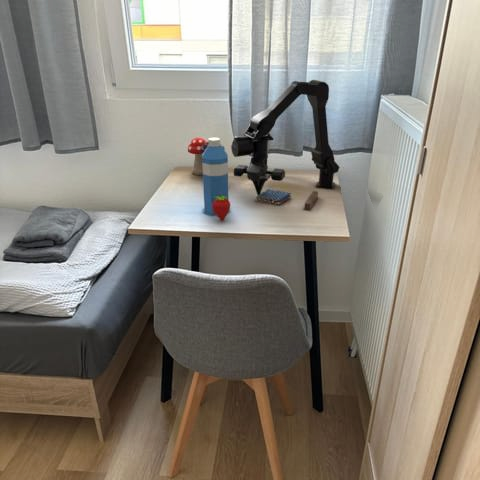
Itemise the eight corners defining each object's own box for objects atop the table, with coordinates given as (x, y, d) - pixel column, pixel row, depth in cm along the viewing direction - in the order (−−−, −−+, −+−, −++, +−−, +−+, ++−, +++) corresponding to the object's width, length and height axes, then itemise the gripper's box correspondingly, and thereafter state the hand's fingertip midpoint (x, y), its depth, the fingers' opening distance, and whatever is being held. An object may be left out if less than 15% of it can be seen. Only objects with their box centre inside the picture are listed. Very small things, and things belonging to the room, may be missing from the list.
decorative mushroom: (214, 171, 215) (213, 136, 206) (206, 177, 208) (205, 141, 200) (194, 169, 218) (192, 134, 209) (185, 175, 211) (183, 139, 203)
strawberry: (209, 223, 166) (207, 194, 161) (218, 215, 172) (217, 187, 167) (224, 225, 164) (224, 197, 159) (233, 218, 170) (233, 190, 165)
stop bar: (312, 197, 187) (312, 190, 186) (317, 197, 187) (318, 191, 185) (304, 209, 176) (304, 203, 175) (309, 210, 176) (310, 203, 175)
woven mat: (267, 192, 192) (267, 187, 190) (292, 197, 187) (292, 192, 186) (254, 201, 184) (254, 195, 183) (280, 206, 180) (280, 200, 178)
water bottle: (233, 207, 178) (232, 136, 164) (224, 217, 171) (222, 143, 157) (209, 204, 181) (206, 134, 167) (199, 213, 174) (195, 141, 160)
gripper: (228, 156, 174) (228, 199, 183) (278, 161, 169) (276, 205, 178) (238, 149, 183) (238, 189, 192) (286, 153, 178) (284, 195, 187)
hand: (258, 194), depth 187 cm, fingers closed
